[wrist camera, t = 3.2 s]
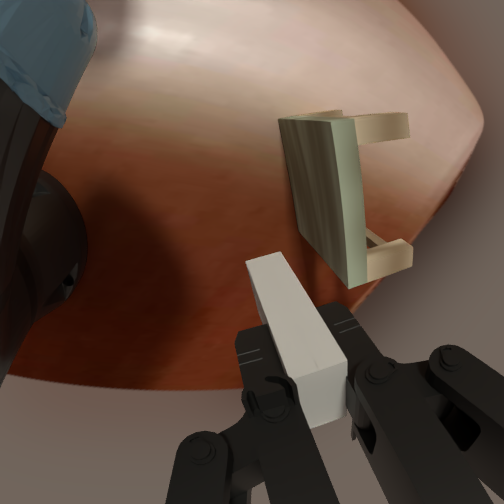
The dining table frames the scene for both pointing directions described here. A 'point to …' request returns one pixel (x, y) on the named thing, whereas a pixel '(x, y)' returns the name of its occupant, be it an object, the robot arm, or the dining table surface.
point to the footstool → (340, 190)
